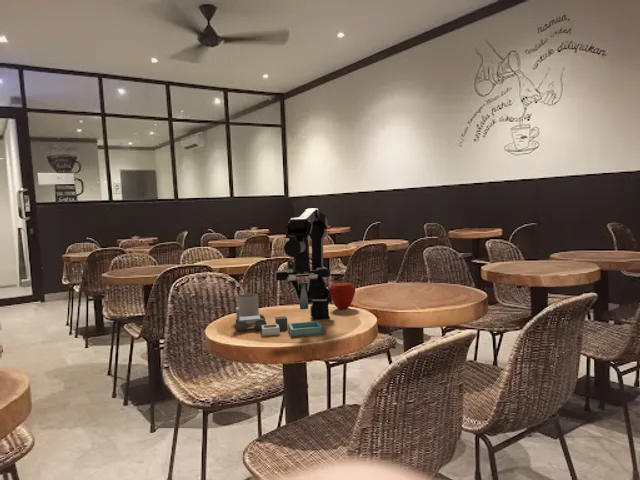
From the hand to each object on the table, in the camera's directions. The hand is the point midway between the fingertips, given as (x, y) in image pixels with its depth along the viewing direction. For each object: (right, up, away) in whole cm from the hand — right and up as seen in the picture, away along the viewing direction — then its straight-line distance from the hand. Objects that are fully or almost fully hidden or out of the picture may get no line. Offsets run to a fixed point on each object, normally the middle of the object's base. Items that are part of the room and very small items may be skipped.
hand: (303, 298), depth 169 cm
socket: (-12, -12, +2) cm, 17 cm away
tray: (+1, -12, +1) cm, 12 cm away
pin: (0, -4, 0) cm, 4 cm away
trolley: (-19, -12, +10) cm, 25 cm away
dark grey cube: (-8, -12, +8) cm, 17 cm away
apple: (+15, -9, +38) cm, 42 cm away
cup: (-23, -12, +25) cm, 36 cm away
